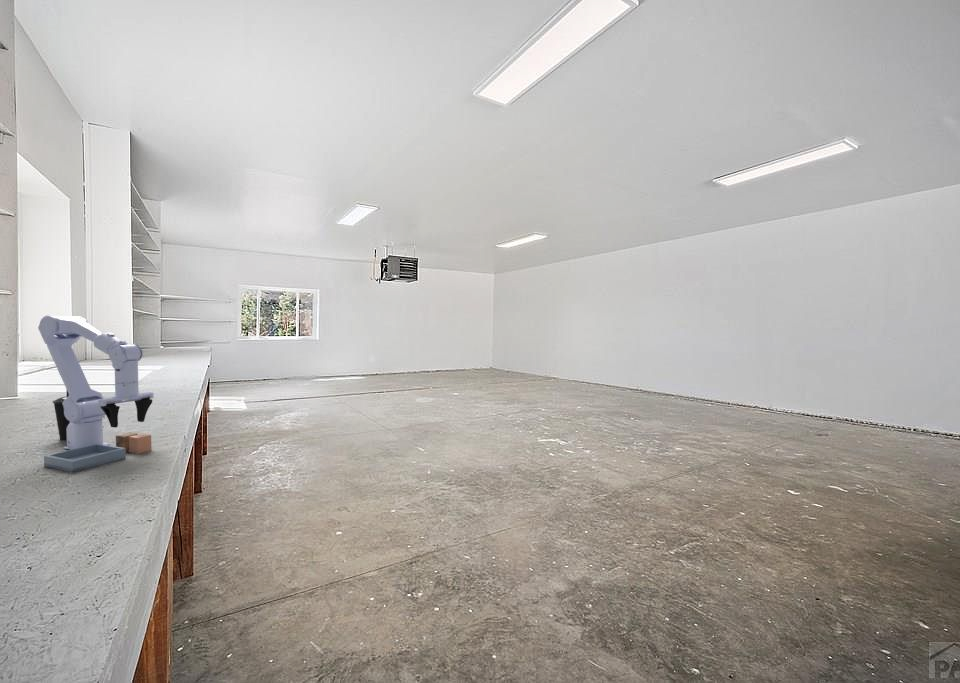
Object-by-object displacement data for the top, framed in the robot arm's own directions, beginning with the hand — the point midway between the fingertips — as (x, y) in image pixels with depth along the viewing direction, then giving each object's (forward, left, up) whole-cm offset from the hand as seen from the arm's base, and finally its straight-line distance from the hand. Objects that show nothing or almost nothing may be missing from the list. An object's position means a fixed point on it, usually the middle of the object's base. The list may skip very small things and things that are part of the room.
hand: (127, 424), depth 135 cm
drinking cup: (-33, +1, -9) cm, 34 cm away
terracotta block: (+4, +1, -9) cm, 10 cm away
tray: (+1, -12, -8) cm, 14 cm away
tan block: (-1, 0, -9) cm, 9 cm away
